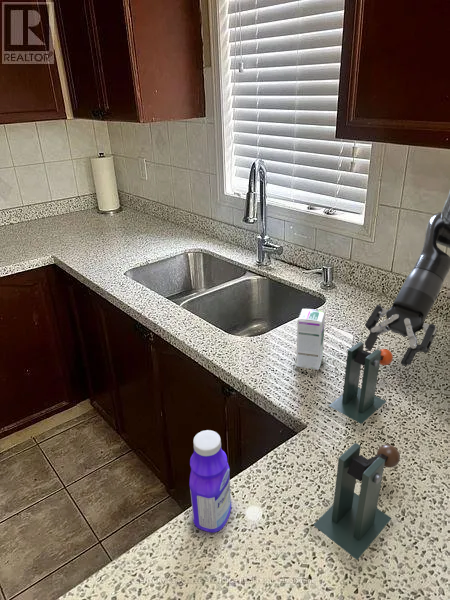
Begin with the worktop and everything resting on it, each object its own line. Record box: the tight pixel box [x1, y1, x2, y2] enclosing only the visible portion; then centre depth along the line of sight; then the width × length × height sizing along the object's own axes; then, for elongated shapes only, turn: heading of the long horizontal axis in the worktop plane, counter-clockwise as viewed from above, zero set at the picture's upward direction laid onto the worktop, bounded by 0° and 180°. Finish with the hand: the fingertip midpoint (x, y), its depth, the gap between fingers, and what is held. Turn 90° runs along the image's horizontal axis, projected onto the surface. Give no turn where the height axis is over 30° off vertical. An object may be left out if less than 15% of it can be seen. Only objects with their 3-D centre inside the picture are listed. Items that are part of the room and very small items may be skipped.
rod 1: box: [354, 348, 394, 366], centre depth 95 cm, size 13×4×4 cm, turn 134°
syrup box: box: [295, 308, 326, 371], centre depth 108 cm, size 6×6×14 cm
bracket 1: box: [328, 341, 387, 425], centre depth 93 cm, size 10×8×15 cm
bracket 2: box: [312, 442, 392, 561], centre depth 68 cm, size 10×8×15 cm
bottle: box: [188, 429, 232, 534], centre depth 70 cm, size 7×6×17 cm
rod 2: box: [347, 444, 401, 482], centre depth 69 cm, size 13×4×4 cm, turn 134°
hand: (385, 357), depth 98 cm, fingers open, 8 cm apart
